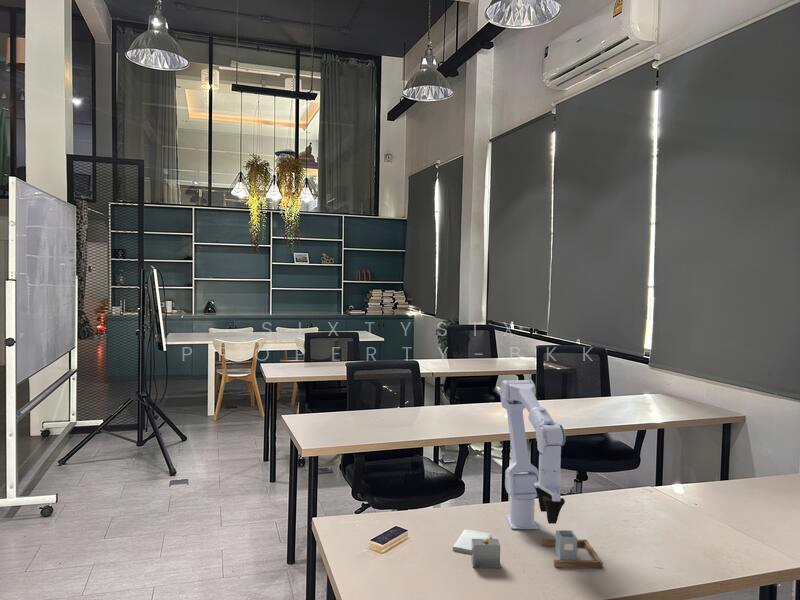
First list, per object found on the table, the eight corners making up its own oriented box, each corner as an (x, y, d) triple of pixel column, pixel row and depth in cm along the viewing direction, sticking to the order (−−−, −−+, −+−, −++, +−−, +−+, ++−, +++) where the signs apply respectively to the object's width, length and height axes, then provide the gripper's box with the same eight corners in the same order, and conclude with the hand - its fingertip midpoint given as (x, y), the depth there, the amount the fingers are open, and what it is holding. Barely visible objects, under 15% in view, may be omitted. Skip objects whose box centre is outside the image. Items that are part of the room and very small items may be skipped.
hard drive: (481, 552, 153) (491, 533, 165) (452, 546, 156) (464, 528, 168) (481, 558, 154) (491, 538, 165) (452, 552, 156) (463, 533, 168)
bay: (542, 544, 161) (542, 538, 161) (586, 544, 161) (586, 539, 161) (554, 567, 148) (554, 561, 148) (602, 568, 148) (602, 562, 148)
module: (555, 551, 157) (555, 529, 157) (571, 551, 157) (572, 529, 157) (560, 559, 152) (560, 536, 152) (576, 560, 152) (577, 537, 152)
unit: (471, 560, 151) (471, 535, 151) (497, 560, 151) (497, 536, 151) (473, 567, 147) (473, 542, 147) (499, 568, 147) (500, 543, 147)
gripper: (528, 459, 163) (527, 506, 163) (542, 477, 148) (540, 528, 149) (553, 459, 163) (551, 506, 163) (568, 477, 148) (567, 528, 149)
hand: (548, 516), depth 156 cm, fingers open, 7 cm apart
